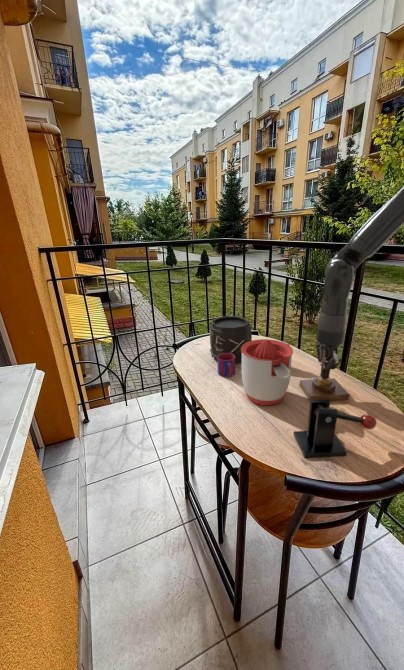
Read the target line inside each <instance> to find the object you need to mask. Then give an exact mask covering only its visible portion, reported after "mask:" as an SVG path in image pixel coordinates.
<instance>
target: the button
mask: <svg viewBox="0 0 404 670" xmlns="http://www.w3.org/2000/svg"><path fill="white" fill-rule="evenodd" d="M317 377H318V381H317V383H318V384H320V385H323V386H329V385H331V378H332V377H330V376H329V378H328V379H323V378H322V377H321V376H320V375H319V376H317Z"/></svg>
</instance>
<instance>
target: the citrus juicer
mask: <svg viewBox="0 0 404 670" xmlns="http://www.w3.org/2000/svg"><path fill="white" fill-rule="evenodd" d="M286 343H287V342H283V341H280V340H277V339H276V340H275V339H268V338H267V339H266V338H265V339H264V338H263V339H253V340H252V341H249V342H247V343H245V344H243V345H242V347H241V351H242V362H241V381H242V386H243V390H244V393H245V395H246V397H247V398H248V400H249V401H251V402H253V403H254V404H256V405H260V406H273V405H277V404H279V403H281V402H282V401H283V399H284V397H285V396H286V393H287V390H288V388H289V385H290V381H291V370H292V359H293V354H294V349H293V348H292V347H291V345H290V344H289V345H288V344H286Z"/></svg>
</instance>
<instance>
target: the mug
mask: <svg viewBox="0 0 404 670" xmlns="http://www.w3.org/2000/svg"><path fill="white" fill-rule="evenodd" d="M217 360H218V361H217V374H218V375H219V376H220V377H223V378H229V377H233V376H234V375H236V364H235V355H233V354H231V353H222V354H219V355H218V356H217Z"/></svg>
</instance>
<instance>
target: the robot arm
mask: <svg viewBox="0 0 404 670" xmlns="http://www.w3.org/2000/svg"><path fill="white" fill-rule="evenodd" d="M403 225H404V186H403V187H402V188H400V190H399V191H397V193H396V194H394V195H393V197H391V199H389V200H388V201H387V202H386V203H384V204H383V206H381V208H379V209H378V210H377V211H376V212H375V213H374V214H372V215H371V217H370V218H369V219H368V220H367V221H366V222H365V223H364V224H363V225H362V226H361V227H360V229H358V230H357V232H356V233H355V234H354V235H353V236H352V238H351V239H350V240H349V241H348V243H346V244H345V246H343V247H342V248H341V249H340V250H339V251H337V253H336V254H335V255H334V256H332V258H331V259H330V260H329V261H328V262H327V264H326V266H325V268H324V271H325V272H324V286H323V295H322V298H321V304H320V312H319V315H318V321H317V330H316V337H315V338H316V339H315V340H316V341H317V342H318V343H316V344H315V349H316V354H317V355H316V356H317V361H318V363H320V367H321V368H320V374H319V376H321V377H322V378H323V379H328V378H329V377H330V374H331V370H336V368H337V367H338V366H339V365H341V364H342V358H338V353H339V346H340V345H342V344H343V343H344V339H345V331H346V326H347V312H348V307H349V296H350V293H351V288H352V286H353V282H354V275H355V274H354V273H355V270H356V269H358V267H359V266H361V264H362V263H363V262H365V260H367V259H370V258H371V257H372V256H374V254H376V253H377V251H379V249H381V248H382V247H383V245H385V243H386V242H388V241H389V239H390V238H391V237H392V236H393V235H394V234H395V233H397V231H398V230H399V229H400V228H401V227H402V226H403Z"/></svg>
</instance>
